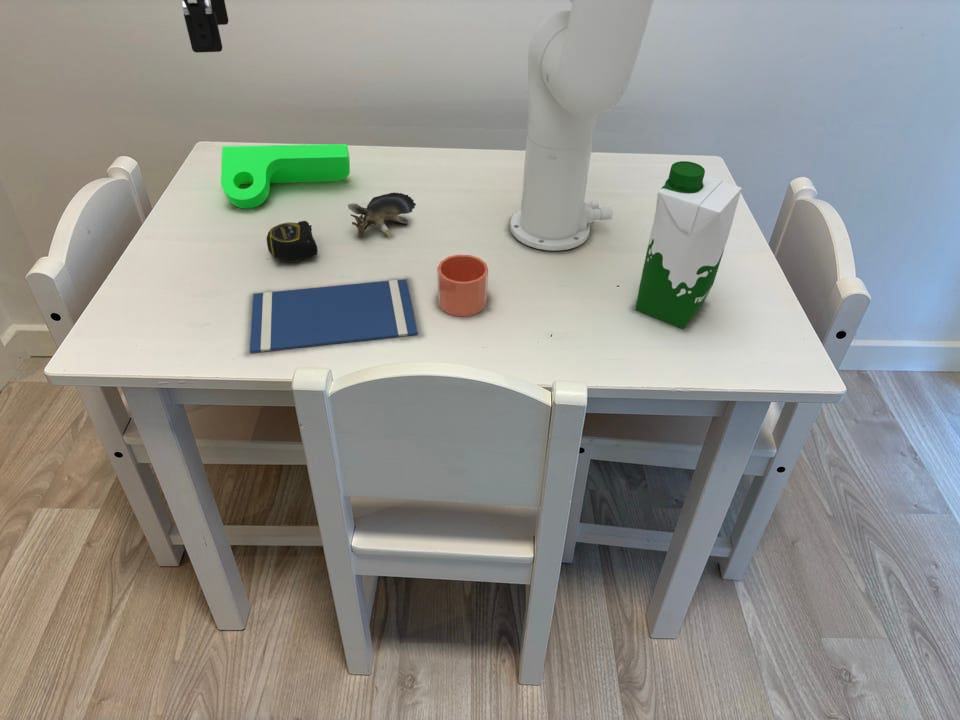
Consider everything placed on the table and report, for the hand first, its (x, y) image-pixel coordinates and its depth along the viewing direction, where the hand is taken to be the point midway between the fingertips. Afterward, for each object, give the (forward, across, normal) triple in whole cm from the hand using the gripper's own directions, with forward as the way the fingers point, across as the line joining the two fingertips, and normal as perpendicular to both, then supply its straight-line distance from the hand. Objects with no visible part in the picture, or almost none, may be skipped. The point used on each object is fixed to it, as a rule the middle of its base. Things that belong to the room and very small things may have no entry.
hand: (211, 37), depth 81 cm
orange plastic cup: (+31, -15, -28) cm, 44 cm away
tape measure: (+31, 0, -5) cm, 31 cm away
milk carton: (+31, -21, -56) cm, 67 cm away
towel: (+31, -16, -10) cm, 36 cm away
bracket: (+31, +18, -4) cm, 36 cm away
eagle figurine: (+31, +4, -18) cm, 36 cm away
